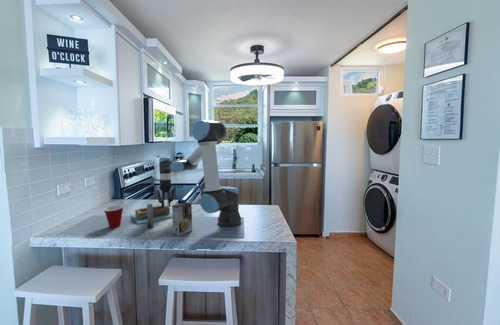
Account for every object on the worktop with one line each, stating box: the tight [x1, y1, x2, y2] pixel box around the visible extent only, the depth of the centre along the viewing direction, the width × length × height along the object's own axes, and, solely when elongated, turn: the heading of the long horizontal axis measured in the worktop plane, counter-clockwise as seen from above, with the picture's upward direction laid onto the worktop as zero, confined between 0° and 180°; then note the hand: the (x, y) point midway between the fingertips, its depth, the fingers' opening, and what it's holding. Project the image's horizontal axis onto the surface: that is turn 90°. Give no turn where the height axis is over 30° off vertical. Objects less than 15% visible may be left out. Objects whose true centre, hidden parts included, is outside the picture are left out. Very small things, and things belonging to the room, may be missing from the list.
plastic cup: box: [102, 204, 124, 229], centre depth 144 cm, size 11×11×12 cm
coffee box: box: [171, 201, 193, 236], centre depth 135 cm, size 9×6×16 cm
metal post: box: [146, 203, 154, 229], centre depth 142 cm, size 3×3×14 cm
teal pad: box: [130, 211, 173, 225], centre depth 163 cm, size 20×24×1 cm
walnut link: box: [134, 204, 171, 219], centre depth 162 cm, size 10×20×4 cm, turn 127°
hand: (166, 211), depth 168 cm, fingers closed on walnut link, 2 cm apart
